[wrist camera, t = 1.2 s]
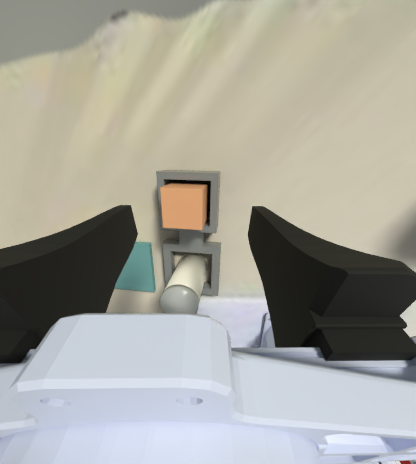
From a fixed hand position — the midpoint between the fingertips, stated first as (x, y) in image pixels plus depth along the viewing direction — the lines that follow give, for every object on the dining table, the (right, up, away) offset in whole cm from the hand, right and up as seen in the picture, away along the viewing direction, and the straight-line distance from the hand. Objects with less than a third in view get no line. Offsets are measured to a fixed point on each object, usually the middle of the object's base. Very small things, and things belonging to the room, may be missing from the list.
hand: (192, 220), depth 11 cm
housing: (-1, -1, +14) cm, 14 cm away
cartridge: (-1, -5, +15) cm, 16 cm away
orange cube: (-1, +3, +10) cm, 11 cm away
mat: (-11, -6, +17) cm, 21 cm away
